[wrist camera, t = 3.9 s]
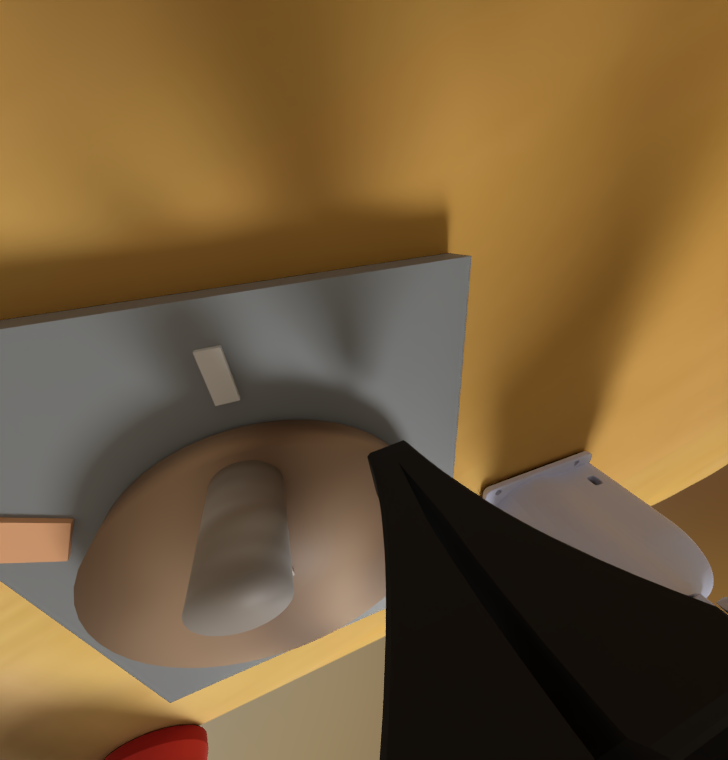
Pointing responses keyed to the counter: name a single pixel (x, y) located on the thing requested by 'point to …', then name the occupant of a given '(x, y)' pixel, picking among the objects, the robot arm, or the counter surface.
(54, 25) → the counter surface
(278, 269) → the counter surface
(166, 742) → the canned food
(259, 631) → the dial
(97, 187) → the counter surface
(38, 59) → the counter surface
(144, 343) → the board
